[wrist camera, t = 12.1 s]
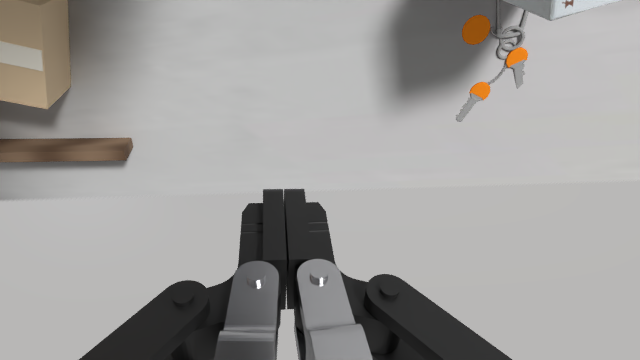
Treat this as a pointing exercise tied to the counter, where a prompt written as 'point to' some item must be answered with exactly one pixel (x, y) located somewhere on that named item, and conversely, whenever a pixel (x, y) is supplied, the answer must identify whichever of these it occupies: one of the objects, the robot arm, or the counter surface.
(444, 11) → the counter surface
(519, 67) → the key chain
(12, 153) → the brown wooden u-shaped piece
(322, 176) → the counter surface
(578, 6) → the supplement box
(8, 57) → the kraft carton
